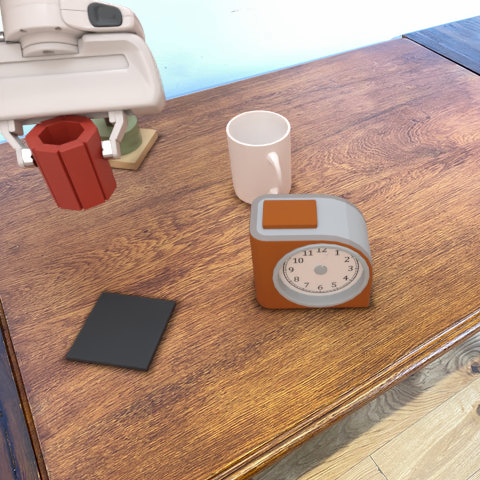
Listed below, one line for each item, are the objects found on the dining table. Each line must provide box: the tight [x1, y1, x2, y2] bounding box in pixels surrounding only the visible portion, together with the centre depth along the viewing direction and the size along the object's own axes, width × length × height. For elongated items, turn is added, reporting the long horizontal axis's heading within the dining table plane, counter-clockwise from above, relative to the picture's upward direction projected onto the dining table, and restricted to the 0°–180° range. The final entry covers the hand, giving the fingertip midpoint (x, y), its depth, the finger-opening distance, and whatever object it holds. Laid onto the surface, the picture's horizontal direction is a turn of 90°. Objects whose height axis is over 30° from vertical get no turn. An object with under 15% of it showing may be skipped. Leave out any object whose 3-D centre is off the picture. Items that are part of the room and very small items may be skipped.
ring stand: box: [91, 115, 159, 171], centre depth 86 cm, size 10×10×11 cm
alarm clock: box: [248, 193, 374, 310], centre depth 65 cm, size 15×8×14 cm, turn 92°
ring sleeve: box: [24, 115, 118, 212], centre depth 53 cm, size 6×6×8 cm
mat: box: [65, 291, 177, 372], centre depth 64 cm, size 10×10×1 cm
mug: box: [225, 110, 293, 205], centre depth 79 cm, size 9×12×12 cm
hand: (71, 163), depth 53 cm, fingers closed on ring sleeve, 7 cm apart
